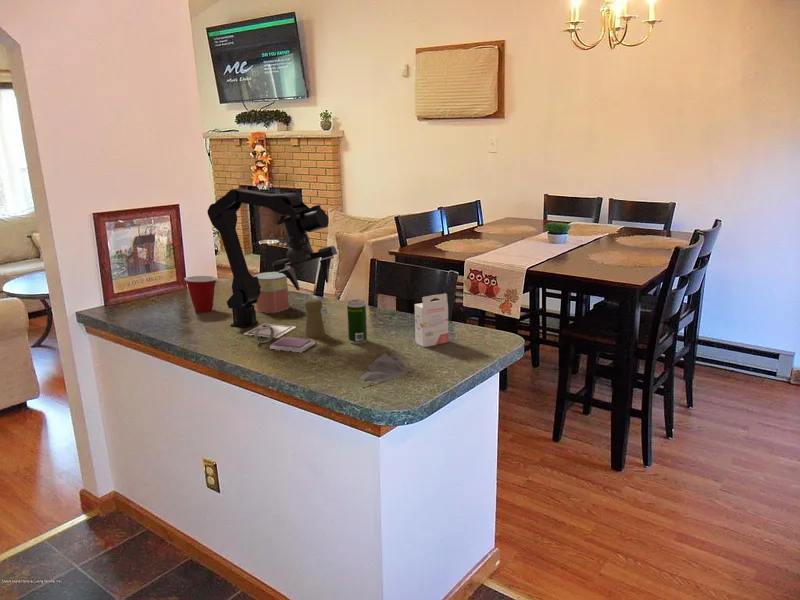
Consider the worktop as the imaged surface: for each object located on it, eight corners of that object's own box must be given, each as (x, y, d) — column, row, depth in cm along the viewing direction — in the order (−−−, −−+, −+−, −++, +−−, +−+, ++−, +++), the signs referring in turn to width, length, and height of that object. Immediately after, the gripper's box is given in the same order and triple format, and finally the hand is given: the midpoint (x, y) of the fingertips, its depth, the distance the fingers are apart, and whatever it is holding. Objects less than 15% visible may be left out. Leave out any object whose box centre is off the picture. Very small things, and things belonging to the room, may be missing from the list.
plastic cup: (227, 308, 220) (223, 275, 217) (202, 316, 211) (199, 281, 208) (205, 304, 226) (202, 272, 222) (181, 312, 217) (177, 278, 214)
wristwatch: (258, 346, 180) (257, 329, 179) (253, 344, 182) (251, 327, 181) (276, 340, 185) (275, 324, 183) (270, 339, 186) (269, 322, 185)
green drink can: (369, 342, 182) (368, 302, 179) (352, 345, 179) (351, 304, 176) (362, 337, 186) (361, 298, 183) (345, 340, 184) (344, 300, 181)
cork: (321, 338, 186) (319, 302, 183) (302, 337, 188) (300, 301, 185) (327, 332, 192) (326, 297, 189) (309, 331, 193) (307, 296, 190)
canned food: (273, 302, 227) (271, 270, 224) (295, 307, 220) (293, 274, 217) (249, 310, 218) (246, 276, 215) (272, 314, 211) (269, 280, 208)
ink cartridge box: (439, 338, 184) (439, 289, 181) (448, 342, 180) (448, 293, 176) (414, 342, 181) (413, 293, 177) (422, 347, 176) (422, 297, 173)
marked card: (243, 334, 191) (243, 333, 191) (263, 324, 201) (263, 323, 201) (278, 338, 187) (278, 337, 187) (296, 327, 197) (296, 326, 197)
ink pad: (270, 349, 177) (269, 344, 177) (284, 340, 185) (284, 335, 184) (301, 352, 174) (301, 347, 174) (314, 343, 181) (314, 339, 181)
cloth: (381, 395, 146) (381, 386, 146) (333, 385, 153) (332, 376, 152) (430, 360, 168) (430, 352, 168) (385, 352, 175) (385, 345, 174)
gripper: (259, 246, 178) (275, 298, 180) (320, 229, 175) (336, 282, 177) (272, 243, 189) (287, 292, 191) (329, 226, 186) (344, 277, 188)
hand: (312, 286), depth 186 cm, fingers open, 9 cm apart
